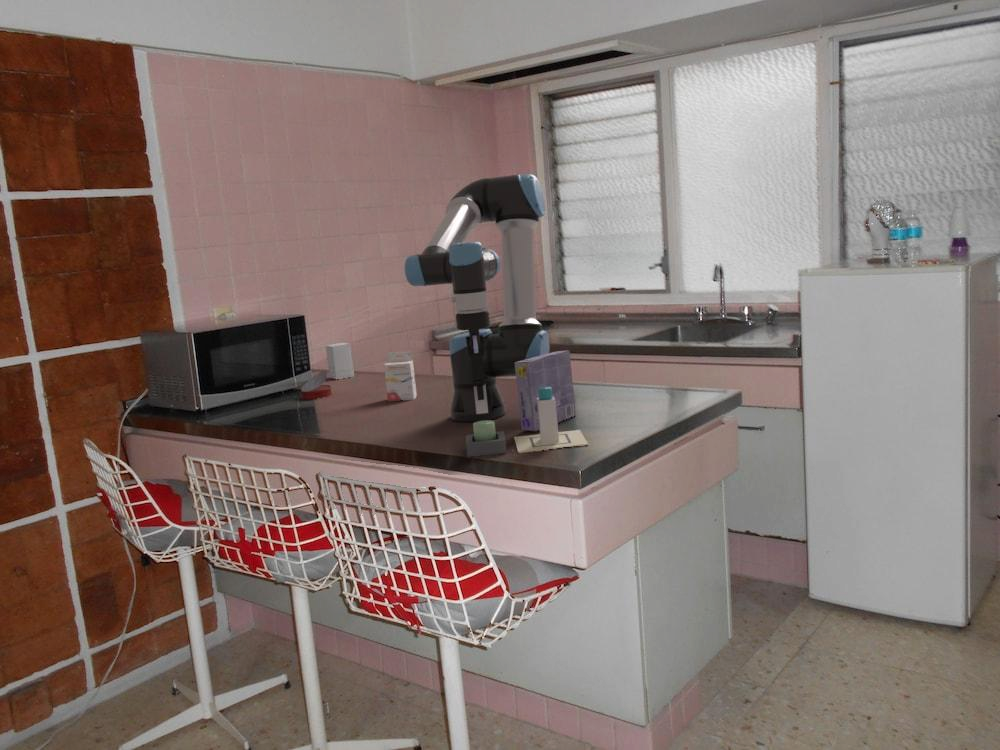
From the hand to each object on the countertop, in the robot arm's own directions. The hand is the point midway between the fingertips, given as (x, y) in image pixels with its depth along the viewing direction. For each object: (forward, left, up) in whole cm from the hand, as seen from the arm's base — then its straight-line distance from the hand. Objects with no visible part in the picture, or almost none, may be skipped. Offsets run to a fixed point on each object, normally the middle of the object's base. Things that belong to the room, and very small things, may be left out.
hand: (482, 412), depth 206 cm
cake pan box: (-20, +17, -9) cm, 28 cm away
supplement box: (-130, -50, -9) cm, 140 cm away
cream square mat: (-1, +15, -9) cm, 18 cm away
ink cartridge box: (-74, -24, -9) cm, 79 cm away
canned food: (-95, -54, -9) cm, 110 cm away
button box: (0, 0, -9) cm, 9 cm away
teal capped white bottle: (-1, +15, -9) cm, 17 cm away
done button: (0, 0, -7) cm, 7 cm away
